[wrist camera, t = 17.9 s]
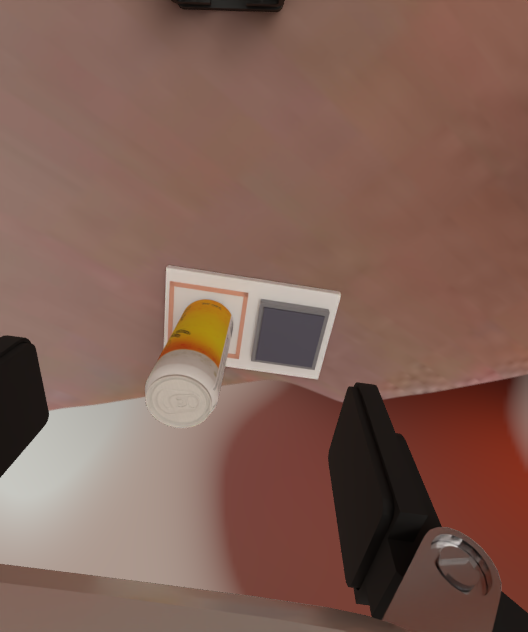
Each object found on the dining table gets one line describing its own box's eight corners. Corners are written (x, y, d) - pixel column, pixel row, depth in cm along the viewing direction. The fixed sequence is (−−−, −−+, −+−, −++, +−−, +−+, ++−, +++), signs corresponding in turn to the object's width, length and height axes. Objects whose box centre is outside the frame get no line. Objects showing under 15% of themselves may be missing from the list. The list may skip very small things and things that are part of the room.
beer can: (180, 296, 40) (133, 372, 26) (232, 296, 39) (212, 371, 26) (186, 342, 42) (147, 432, 29) (235, 341, 42) (219, 431, 28)
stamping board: (339, 291, 40) (343, 299, 38) (316, 374, 45) (319, 385, 43) (168, 264, 39) (162, 271, 37) (165, 353, 44) (160, 363, 42)
